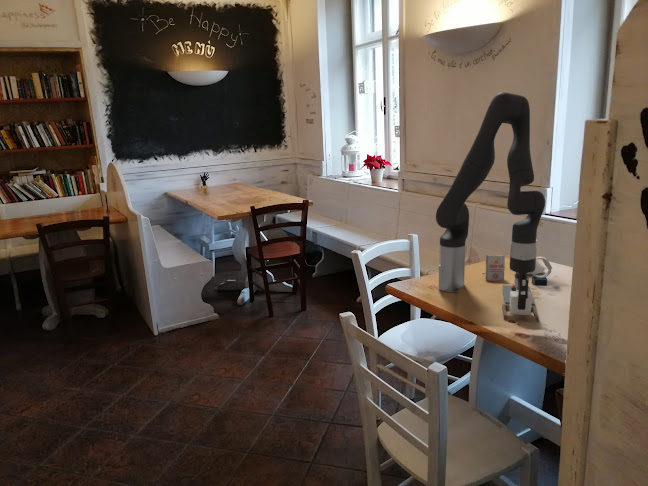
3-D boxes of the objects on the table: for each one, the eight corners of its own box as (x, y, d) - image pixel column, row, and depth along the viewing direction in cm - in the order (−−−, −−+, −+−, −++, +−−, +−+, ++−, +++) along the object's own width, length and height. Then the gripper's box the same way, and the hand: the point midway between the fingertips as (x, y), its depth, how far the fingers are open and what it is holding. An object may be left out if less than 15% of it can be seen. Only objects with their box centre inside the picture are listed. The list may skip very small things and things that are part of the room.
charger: (510, 320, 161) (511, 296, 159) (508, 314, 166) (510, 291, 164) (530, 321, 160) (531, 297, 158) (528, 315, 164) (530, 292, 162)
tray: (503, 324, 160) (504, 315, 159) (502, 312, 169) (502, 304, 168) (537, 326, 157) (538, 317, 156) (534, 314, 166) (535, 306, 165)
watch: (552, 287, 189) (554, 259, 187) (529, 287, 191) (531, 259, 188) (548, 282, 195) (550, 255, 192) (526, 282, 196) (528, 254, 193)
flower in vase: (544, 277, 200) (549, 215, 194) (514, 275, 204) (517, 214, 198) (543, 268, 212) (547, 209, 206) (514, 266, 216) (517, 208, 210)
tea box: (485, 277, 203) (486, 253, 201) (502, 278, 202) (504, 254, 199) (485, 280, 200) (486, 256, 197) (503, 281, 198) (505, 256, 196)
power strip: (505, 311, 169) (505, 300, 168) (502, 294, 185) (502, 283, 184) (534, 313, 167) (534, 301, 166) (528, 295, 182) (529, 284, 181)
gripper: (508, 248, 165) (506, 295, 169) (511, 261, 152) (509, 312, 156) (533, 249, 163) (530, 297, 167) (538, 262, 150) (535, 313, 154)
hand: (520, 304), depth 162 cm, fingers open, 8 cm apart
